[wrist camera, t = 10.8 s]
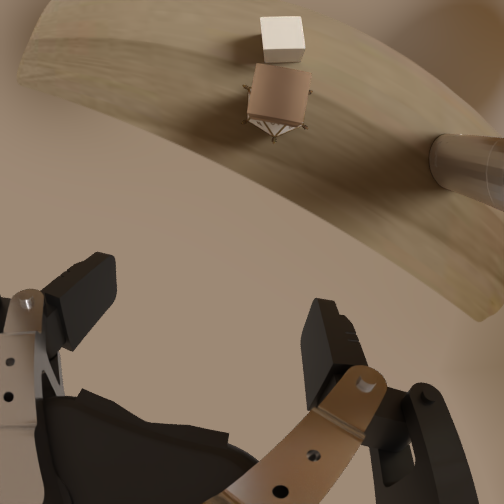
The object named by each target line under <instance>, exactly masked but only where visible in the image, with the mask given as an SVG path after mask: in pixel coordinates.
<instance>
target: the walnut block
mask: <svg viewBox="0 0 504 504" xmlns="http://www.w3.org/2000/svg"><path fill="white" fill-rule="evenodd" d="M311 76H312V73H308V72H304V71H299V70H294V69H289V68H284V67H279V66H273V65H267V64H260V63H257V64H256V69H255V73H254V78H253V84H252V89H251V94H250V99H249V104H248V109H247V114H248V115H249V117H250V118H251V119H253V120H259V121H265V122H270V123H276V124H281V125H286V126H291V127H296V128H297V127H298V126H300V125H301V124H303V120H304V114H305V109H306V104H307V98H308V93H309V87H310V82H311Z"/></svg>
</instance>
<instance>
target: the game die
mask: <svg viewBox="0 0 504 504" xmlns="http://www.w3.org/2000/svg"><path fill="white" fill-rule="evenodd" d="M243 87H244V88H245V89H248V104H249V99H250V94H251V89H252V87H248V86H247V85H243ZM312 92H313V91H311V90H309V93H308V94H311V93H312ZM247 109H248V105H247ZM304 115H305V114H304ZM247 122H250V123H251V124H253V125H255V126H256V127H258V128H260V129H261V130H263V131H264V132H266V133H268V134H269V135H271V136H272V137H273V138H272V142H273V144H274V143H275V142H276V137H277V136H280V135H282V134H284V133H287V132H289V131H291V130H294V129H296V127H291V126H286V125H281V124H276V123H270V122H265V121H259V120H253V119H251V118H250V117H249V115H248V114H247V120H243V122H242V123H241V124H246V123H247ZM301 126H302V127H303V128H304V129H308V128H307V126H306V125H304V120H303V124H301V125H300V126H298V127H301ZM298 127H297V128H298Z"/></svg>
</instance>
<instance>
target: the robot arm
mask: <svg viewBox="0 0 504 504" xmlns="http://www.w3.org/2000/svg"><path fill="white" fill-rule="evenodd" d="M429 164H430V169H431V172H432V175H433V177H434V179H435V180H436V182H437V183H438V184H439V185H440V186H442V187H443V188H446V189H448V190H451V191H454V192H457V193H459V194H462V195H464V196H467V197H470V198H472V199H475V200H477V201H480V202H482V203H484V204H487V205H489V206H492V207H494V208H496V209H498V210H501V211H503V212H504V138H500V137H489V136H477V135H462V134H444V135H441V136H439V137H438V138H437V139H436V140H435V141H434V143H433V145H432V146H431V150H430V155H429ZM116 294H117V284H116V262H115V258H114V256H112V255H109V254H105V253H101V252H96V253H94V254H93V255H91V256H90V257H89V258H87V259H86V260H84V261H82V262H79V263H77V264H74V265H73V266H71V267H70V268H69V269H67V271H65V272H64V273H62V274H61V275H60V276H58V277H57V278H56V279H55V280H53V281H52V282H51V283H50V284H48V285H47V286H46V287H45V288H43V289H42V290H41V291H39V290H36V289H26V290H22V291H20V292H18V293H16V294H15V295H14V296H13V297H12V298H11V299H9V298H3V297H1V296H0V504H319V503H320V502H321V500H322V499H323V498H324V497H325V496H326V494H327V493H328V492H329V490H330V489H331V487H332V486H333V485H334V484H335V482H336V481H337V480H338V478H339V477H340V475H341V474H342V473H343V471H344V470H345V468H346V467H347V465H348V464H349V462H350V461H351V459H352V458H353V456H354V455H355V453H356V451H357V450H358V448H359V447H360V445H364V446H368V447H369V448H370V455H371V463H372V471H373V479H374V486H375V497H376V504H479V502H478V498H477V494H476V490H475V486H474V482H473V479H472V475H471V472H470V468H469V465H468V462H467V459H466V456H465V453H464V450H463V447H462V444H461V441H460V439H459V436H458V433H457V430H456V428H455V425H454V423H453V420H452V418H451V415H450V413H449V410H448V408H447V406H446V403H445V401H444V399H443V396H442V395H441V393H440V392H439V391H438V390H437V389H436V388H435V387H433V386H432V385H430V384H427V383H416V384H414V385H413V386H412V387H411V389H410V390H409V391H408V392H404V391H400V390H397V389H393V388H390V387H387V383H386V380H385V378H384V377H383V375H382V374H381V373H379V372H378V371H377V370H375V369H373V368H371V367H368V364H367V361H366V358H365V356H364V353H363V350H362V348H361V345H360V343H359V339H358V337H357V335H356V332H355V329H354V327H353V324H352V323H351V322H350V321H349V320H348V318H347V317H346V316H344V315H339V312H338V309H337V307H336V304H335V302H334V301H332V300H326V299H320V298H315V299H314V300H313V303H312V305H311V308H310V311H309V314H308V317H307V320H306V322H305V326H304V328H303V331H302V336H301V353H302V362H303V371H304V381H305V391H306V402H307V410H308V411H310V412H309V413H308V414H307V415H306V416H305V417H304V418H303V419H302V420H301V421H300V422H299V423H298V424H297V425H296V426H295V428H294V429H293V430H292V431H291V432H290V433H289V434H288V435H287V436H286V437H285V438H284V439H283V440H282V441H281V442H279V443H278V444H277V445H276V446H275V447H274V448H273V449H272V450H271V451H270V452H269V453H268V454H267V455H266V456H265V457H264V458H262V459H261V460H260V461H258V460H257V459H255V458H254V457H253V456H251V455H250V454H248V453H247V452H245V451H244V450H242V449H240V448H238V447H236V446H233V445H231V444H229V443H228V437H229V433H225V432H220V431H214V430H209V429H204V428H200V427H195V426H191V425H177V424H160V423H150V422H146V421H144V420H142V419H140V418H138V417H137V416H135V415H133V414H132V413H130V412H129V411H127V410H126V409H124V408H123V407H121V406H119V405H118V404H116V403H115V402H113V401H111V400H108V399H106V398H103V397H101V396H99V395H96V394H94V393H92V392H89V391H87V390H85V389H82V390H81V391H80V393H79V394H78V396H77V397H72V396H65V393H64V386H63V378H62V368H61V357H60V353H59V350H60V348H61V347H63V348H65V349H67V350H70V351H74V350H75V348H76V347H77V346H78V345H79V343H80V342H81V341H82V340H83V338H84V337H85V336H86V335H87V333H88V332H89V331H90V330H91V329H92V327H93V326H94V325H95V324H96V323H97V321H98V320H99V319H100V318H101V316H102V315H103V314H104V313H105V312H106V311H107V309H108V308H109V307H110V306H111V305H112V304H113V302H114V300H115V298H116ZM411 442H412V446H413V450H414V454H415V460H416V461H415V466H414V462H413V458H412V454H411V449H410V445H409V444H410V443H411Z"/></svg>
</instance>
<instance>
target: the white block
mask: <svg viewBox="0 0 504 504" xmlns="http://www.w3.org/2000/svg"><path fill="white" fill-rule="evenodd" d="M260 21H261V32H262V42H263V52H264V62H265V63H274V62H301V59H302V56H303V54H304V51H305V42H304V34H303V27H302V21H301V17H300V16H283V17H260Z"/></svg>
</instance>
